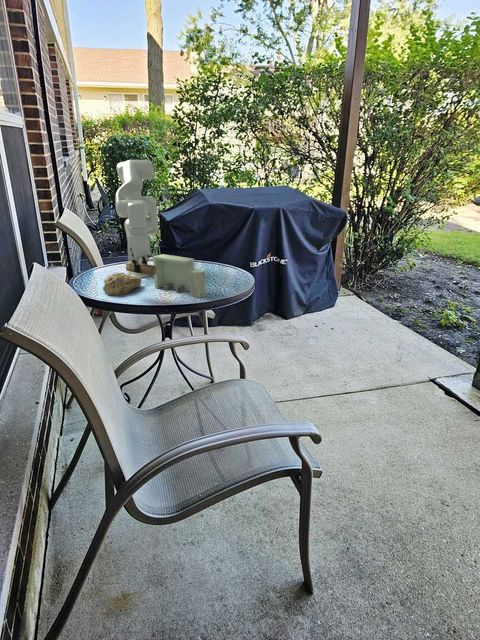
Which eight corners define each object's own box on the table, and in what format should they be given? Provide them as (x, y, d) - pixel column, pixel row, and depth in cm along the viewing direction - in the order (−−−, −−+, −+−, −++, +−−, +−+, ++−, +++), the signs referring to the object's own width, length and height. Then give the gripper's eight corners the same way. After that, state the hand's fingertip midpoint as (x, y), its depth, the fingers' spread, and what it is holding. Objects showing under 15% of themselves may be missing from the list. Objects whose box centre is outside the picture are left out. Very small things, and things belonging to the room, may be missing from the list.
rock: (117, 285, 217) (121, 267, 214) (142, 294, 215) (146, 275, 212) (95, 292, 198) (99, 272, 195) (122, 301, 196) (126, 281, 193)
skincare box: (206, 296, 197) (205, 271, 193) (199, 298, 194) (198, 272, 190) (196, 293, 201) (196, 268, 197) (190, 295, 198) (189, 270, 194)
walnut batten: (150, 275, 185) (150, 267, 183) (126, 270, 192) (125, 262, 190) (156, 273, 188) (156, 265, 186) (132, 268, 195) (132, 261, 194)
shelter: (155, 288, 209) (152, 256, 204) (164, 285, 215) (162, 254, 209) (186, 294, 200) (184, 261, 194) (195, 291, 205) (194, 258, 199)
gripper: (145, 227, 191) (148, 266, 198) (117, 233, 178) (121, 274, 185) (157, 229, 188) (159, 268, 195) (130, 235, 174) (134, 277, 181)
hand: (141, 271), depth 190 cm, fingers closed on walnut batten, 4 cm apart
